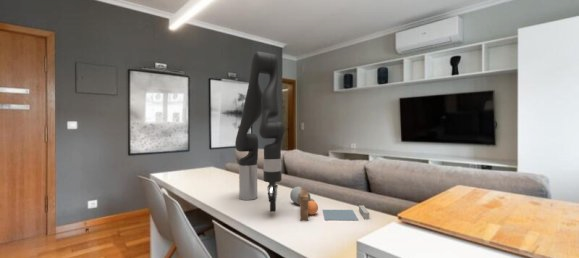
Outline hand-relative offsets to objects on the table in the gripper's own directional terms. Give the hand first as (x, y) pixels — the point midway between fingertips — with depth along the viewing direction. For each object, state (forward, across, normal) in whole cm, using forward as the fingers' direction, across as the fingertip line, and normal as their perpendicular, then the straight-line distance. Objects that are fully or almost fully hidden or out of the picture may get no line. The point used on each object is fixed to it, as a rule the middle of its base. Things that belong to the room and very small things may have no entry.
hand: (272, 211), depth 115 cm
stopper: (+2, 0, -38) cm, 38 cm away
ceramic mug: (+2, +17, -13) cm, 21 cm away
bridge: (+2, 0, -13) cm, 13 cm away
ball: (-1, +1, -16) cm, 16 cm away
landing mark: (+2, 0, -28) cm, 28 cm away
